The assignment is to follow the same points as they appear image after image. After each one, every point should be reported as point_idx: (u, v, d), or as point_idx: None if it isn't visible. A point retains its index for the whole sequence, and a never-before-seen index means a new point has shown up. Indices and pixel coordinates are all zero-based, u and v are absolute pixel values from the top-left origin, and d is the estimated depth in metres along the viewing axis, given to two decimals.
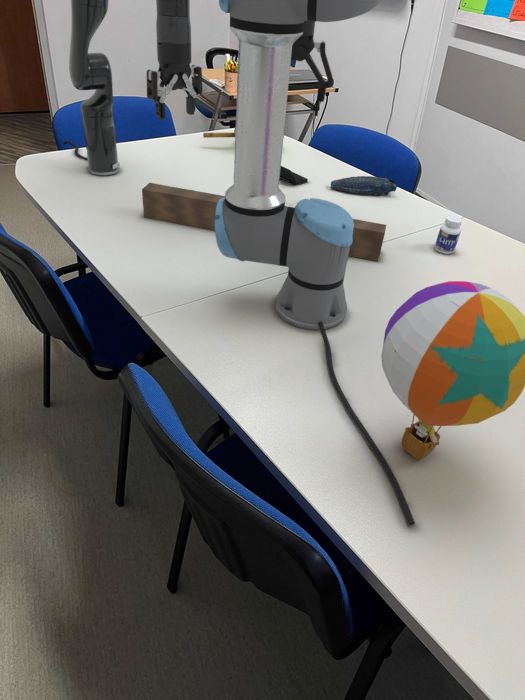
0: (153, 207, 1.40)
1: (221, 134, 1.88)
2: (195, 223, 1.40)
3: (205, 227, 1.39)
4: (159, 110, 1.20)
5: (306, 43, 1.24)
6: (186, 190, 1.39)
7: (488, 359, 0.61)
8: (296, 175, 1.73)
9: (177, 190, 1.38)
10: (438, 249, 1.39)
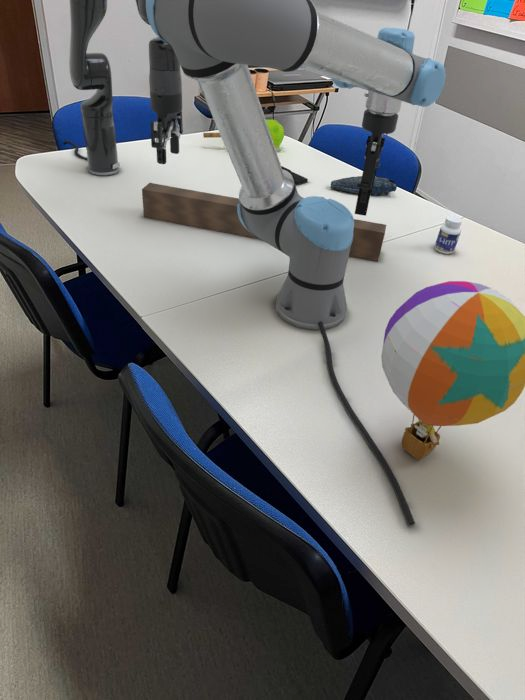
0: (153, 207, 1.40)
1: None
2: (195, 223, 1.40)
3: (205, 227, 1.39)
4: (162, 156, 1.28)
5: None
6: (186, 190, 1.39)
7: (488, 359, 0.61)
8: (296, 175, 1.73)
9: (177, 190, 1.38)
10: (438, 249, 1.39)
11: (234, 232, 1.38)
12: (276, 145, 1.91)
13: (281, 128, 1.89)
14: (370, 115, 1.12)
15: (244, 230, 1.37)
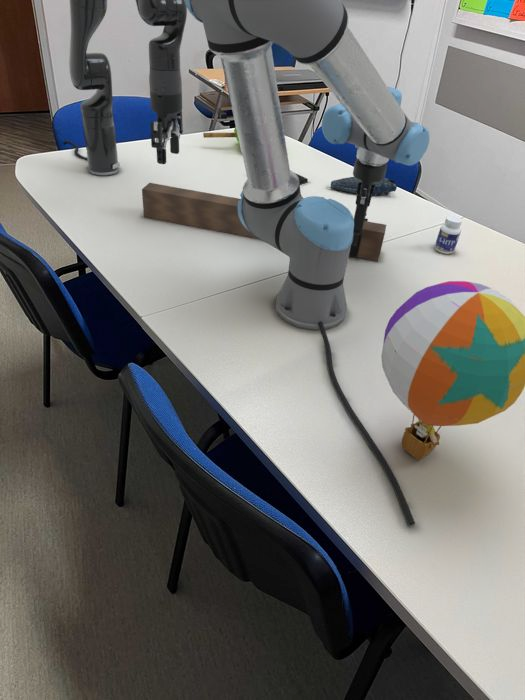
0: (153, 207, 1.40)
1: (221, 134, 1.88)
2: (195, 223, 1.40)
3: (205, 227, 1.39)
4: (162, 156, 1.28)
5: None
6: (186, 190, 1.39)
7: (488, 359, 0.61)
8: None
9: (177, 190, 1.38)
10: (438, 249, 1.39)
11: (234, 232, 1.38)
12: None
13: None
14: (360, 165, 1.19)
15: (244, 230, 1.37)
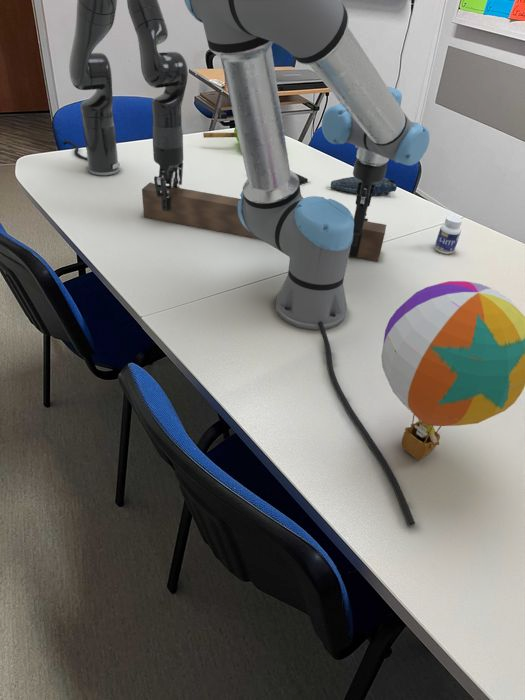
0: (153, 207, 1.40)
1: (221, 134, 1.88)
2: (195, 223, 1.40)
3: (205, 227, 1.39)
4: (166, 204, 1.37)
5: None
6: (186, 190, 1.39)
7: (488, 359, 0.61)
8: None
9: (177, 190, 1.38)
10: (438, 249, 1.39)
11: (234, 232, 1.38)
12: None
13: None
14: (360, 165, 1.19)
15: (244, 230, 1.37)
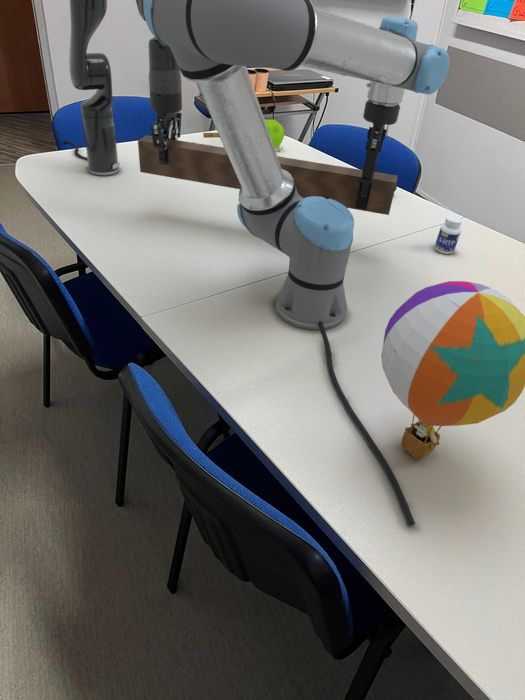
0: (150, 161, 1.32)
1: None
2: (194, 177, 1.32)
3: (205, 181, 1.32)
4: (164, 156, 1.29)
5: None
6: (185, 142, 1.31)
7: (488, 359, 0.61)
8: None
9: (175, 142, 1.31)
10: (438, 249, 1.39)
11: (236, 186, 1.30)
12: (276, 145, 1.91)
13: (281, 128, 1.89)
14: (371, 106, 1.11)
15: None
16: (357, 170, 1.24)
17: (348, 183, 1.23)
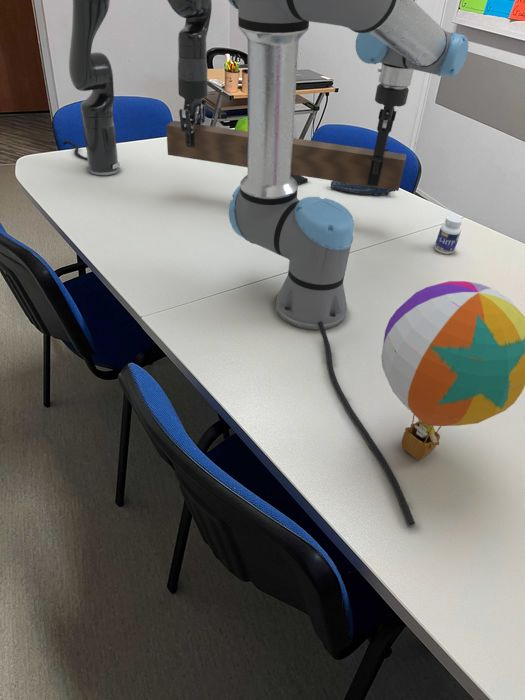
0: (177, 144, 1.43)
1: None
2: (218, 159, 1.43)
3: (228, 163, 1.43)
4: (190, 139, 1.40)
5: None
6: (209, 126, 1.42)
7: (488, 359, 0.61)
8: (296, 175, 1.73)
9: (201, 126, 1.42)
10: (438, 249, 1.39)
11: None
12: None
13: None
14: (382, 89, 1.22)
15: None
16: (369, 150, 1.35)
17: (361, 162, 1.33)
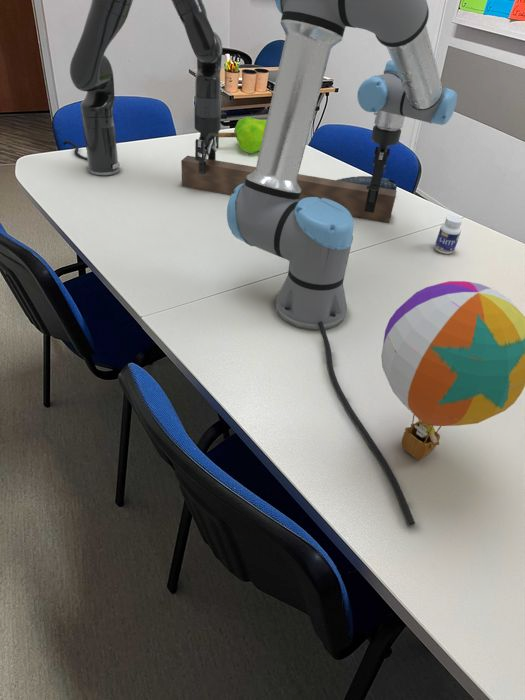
0: (191, 177, 1.59)
1: (221, 134, 1.88)
2: (228, 191, 1.58)
3: None
4: (203, 167, 1.53)
5: None
6: (220, 161, 1.58)
7: (488, 359, 0.61)
8: None
9: (212, 162, 1.57)
10: (438, 249, 1.39)
11: None
12: None
13: None
14: (378, 130, 1.37)
15: None
16: (363, 186, 1.51)
17: (356, 197, 1.49)
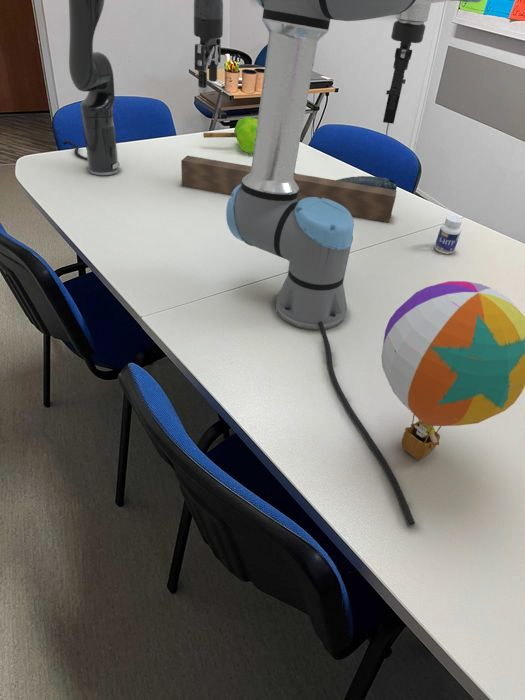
0: (191, 177, 1.59)
1: (221, 134, 1.88)
2: (228, 191, 1.58)
3: None
4: (203, 79, 1.39)
5: (409, 46, 1.29)
6: (220, 161, 1.58)
7: (488, 359, 0.61)
8: None
9: (212, 162, 1.57)
10: (438, 249, 1.39)
11: None
12: None
13: None
14: (399, 24, 1.22)
15: None
16: (363, 186, 1.51)
17: (356, 197, 1.49)
